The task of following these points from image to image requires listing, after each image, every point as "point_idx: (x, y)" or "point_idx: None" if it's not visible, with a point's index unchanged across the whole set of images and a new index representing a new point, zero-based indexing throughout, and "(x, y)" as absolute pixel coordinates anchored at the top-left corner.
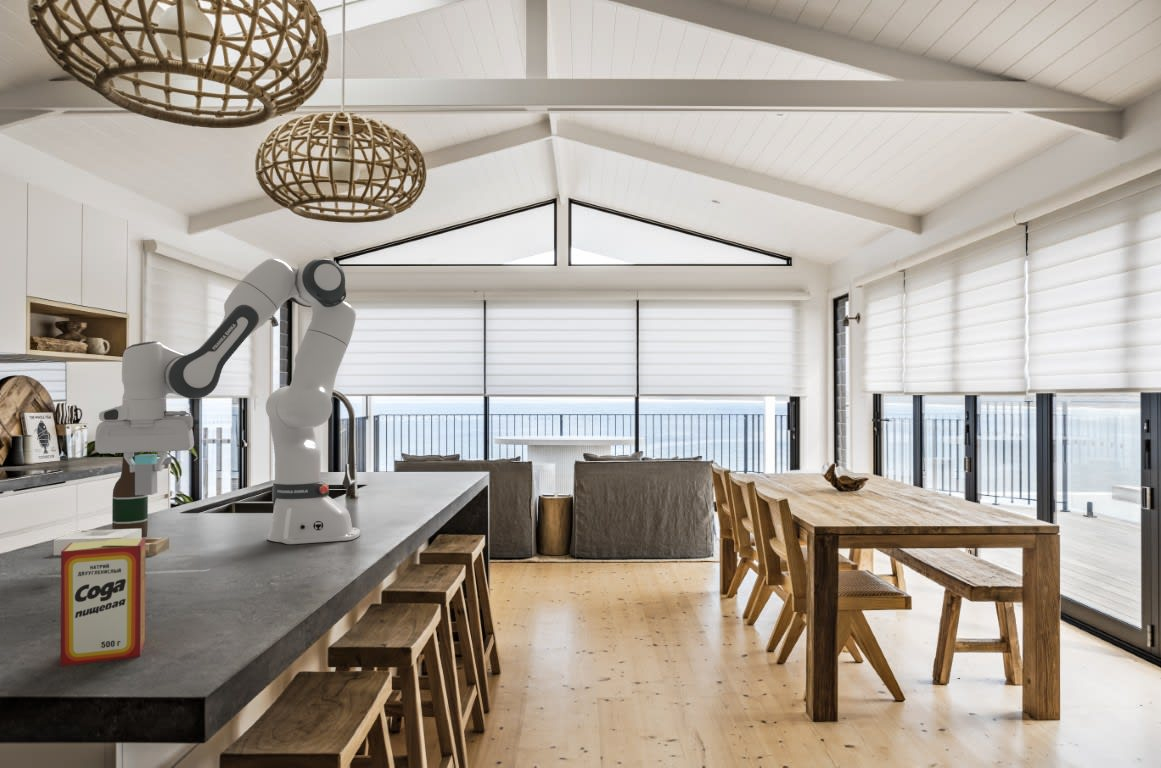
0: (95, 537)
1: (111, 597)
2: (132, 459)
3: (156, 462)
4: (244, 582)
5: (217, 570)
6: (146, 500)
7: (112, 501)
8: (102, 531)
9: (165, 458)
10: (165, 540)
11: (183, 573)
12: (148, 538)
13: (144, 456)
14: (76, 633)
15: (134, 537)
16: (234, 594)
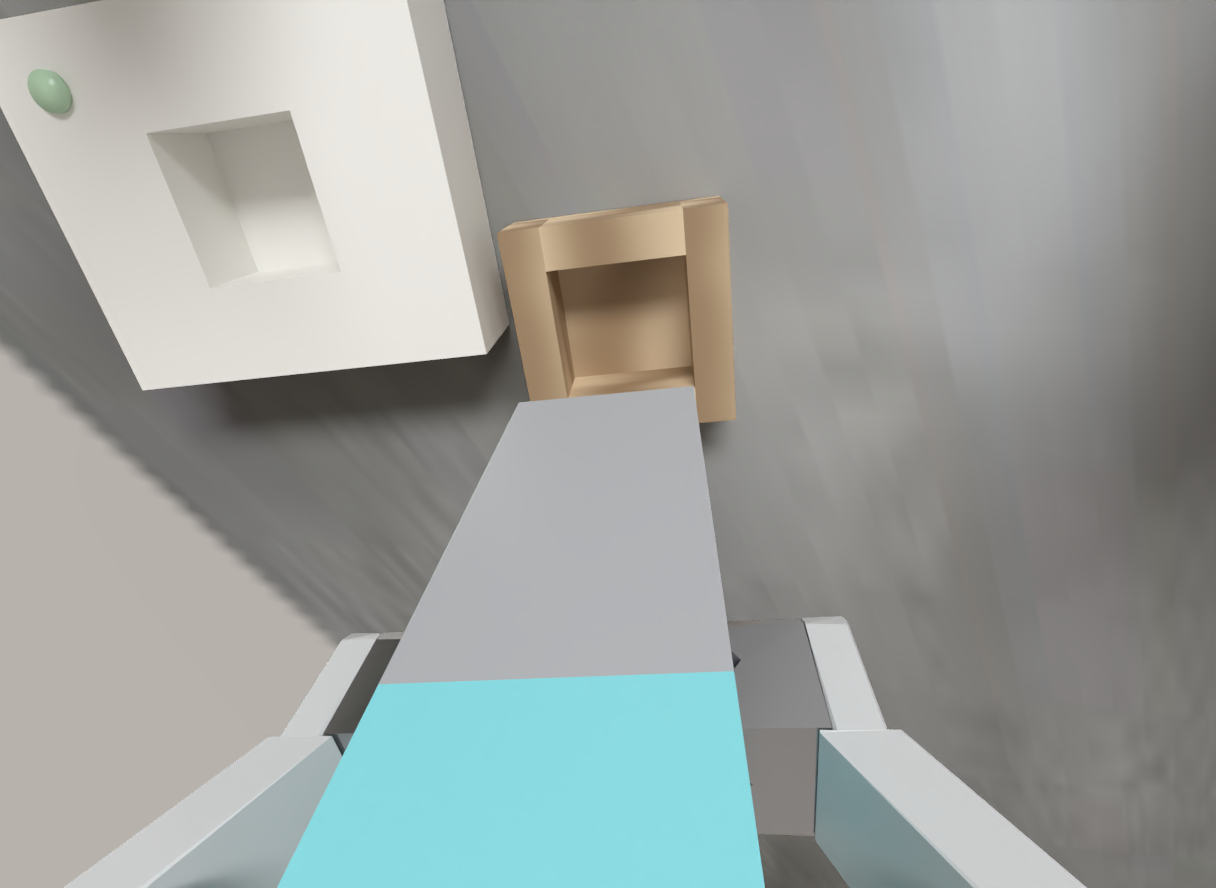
0: (327, 339)
1: None
2: (231, 848)
3: (735, 707)
4: (1188, 783)
5: (1080, 642)
6: None
7: None
8: (188, 99)
9: (1019, 837)
10: (729, 273)
11: (951, 669)
12: (601, 235)
13: None
14: None
15: (447, 118)
16: (1157, 873)
